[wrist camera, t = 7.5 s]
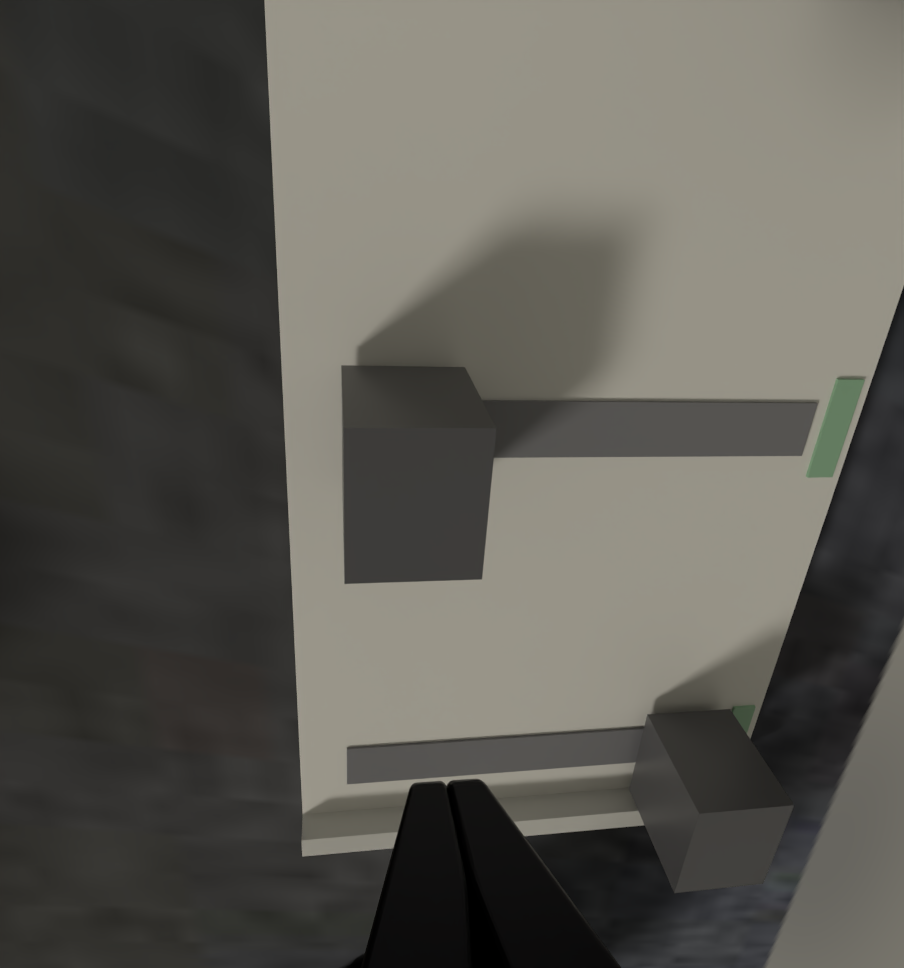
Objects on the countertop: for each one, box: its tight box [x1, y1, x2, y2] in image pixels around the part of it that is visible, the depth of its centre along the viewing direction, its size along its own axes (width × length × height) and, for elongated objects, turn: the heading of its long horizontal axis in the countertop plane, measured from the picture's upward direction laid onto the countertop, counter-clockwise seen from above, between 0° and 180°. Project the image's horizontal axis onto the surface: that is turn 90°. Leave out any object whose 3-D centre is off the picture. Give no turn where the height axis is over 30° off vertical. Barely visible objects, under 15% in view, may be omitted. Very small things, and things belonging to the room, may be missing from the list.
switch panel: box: [265, 0, 904, 856], centre depth 20 cm, size 16×30×2 cm, turn 176°
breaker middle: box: [341, 365, 497, 584], centre depth 17 cm, size 3×4×4 cm
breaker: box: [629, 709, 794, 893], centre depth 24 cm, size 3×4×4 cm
